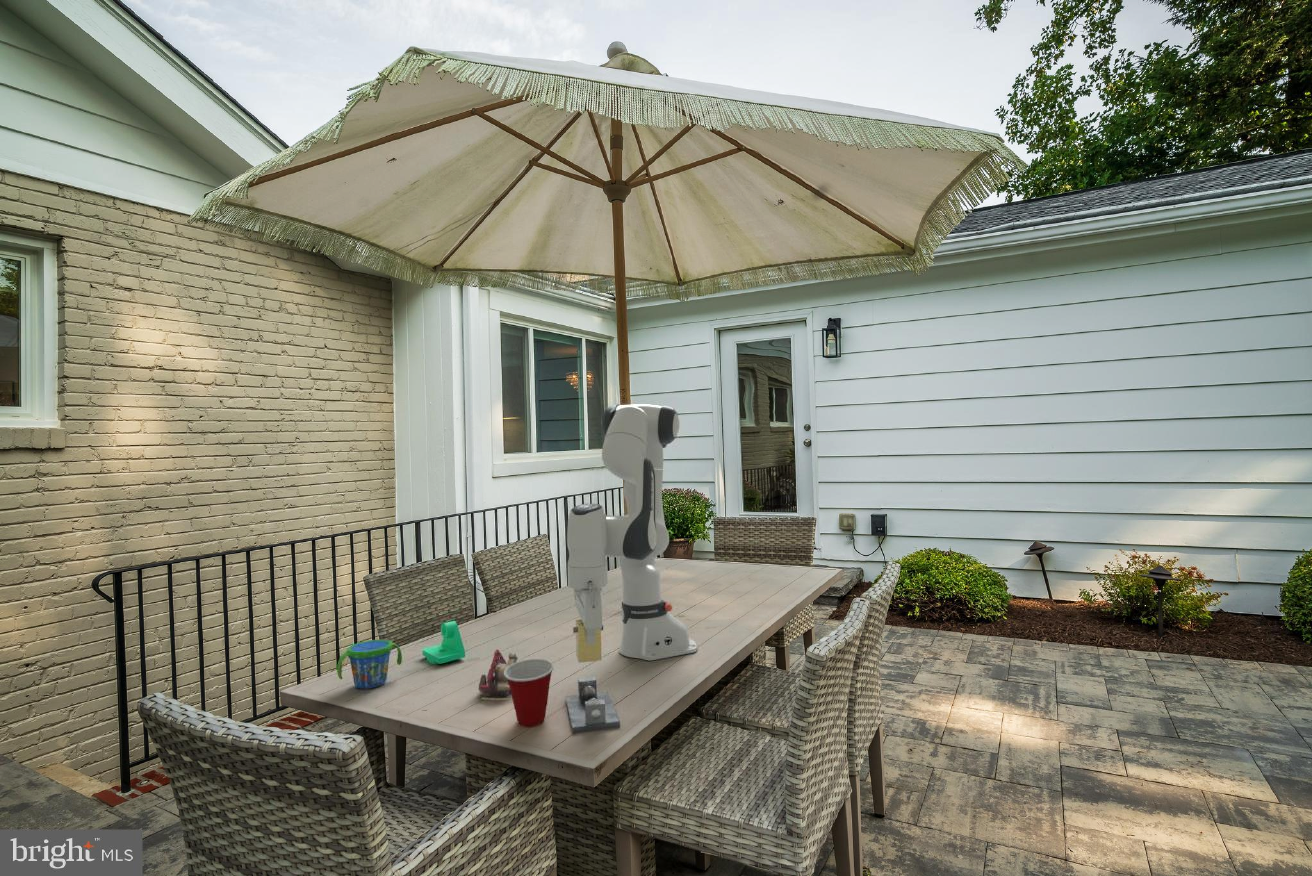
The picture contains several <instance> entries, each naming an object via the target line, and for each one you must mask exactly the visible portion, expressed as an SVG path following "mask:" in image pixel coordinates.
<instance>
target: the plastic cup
mask: <svg viewBox="0 0 1312 876" xmlns="http://www.w3.org/2000/svg"><path fill="white" fill-rule="evenodd" d="M553 670H554V663H553V662H552V661H550V660H549V659H545V658H529V659H522V660H518V661H516V663H514V664H512V665H510V666H508V667H507V668H506V669H505V670H504V676H505V677H506V678H507V681H508V683H509V687H510V694H511V700H512V704H513V708H514V710H515V716H516V720H517V723H518V725H519V726H521V727H524V728H531V727H536V726H539V725H542V724H543V723H544V721H545V718H546V712H547V706H548V700H549V699H548V698H549V690H550V683H551V676H552V673H553Z"/></svg>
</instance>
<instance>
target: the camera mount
mask: <svg viewBox="0 0 1312 876" xmlns="http://www.w3.org/2000/svg"><path fill="white" fill-rule="evenodd" d="M440 633H441V637H442V641H441V644H437V645H434V646H429V647H426V648H423V649H422V656H423V657H425V658H426V661H427V662H429V663H430V664H432V665H438V664H444V663H449V662H452V661H457V660H459V659H463V658H466V650H465V648H464V647H465V646H464V642H463V639H462V637H461V633H460V630H459V627H458V622H456V621H455V620H453V621H447V622H444V623H441V626H440Z"/></svg>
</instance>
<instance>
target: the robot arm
mask: <svg viewBox="0 0 1312 876" xmlns="http://www.w3.org/2000/svg"><path fill="white" fill-rule="evenodd" d="M600 423H601V432H602V434H603V436H604V437H605V438H604V441H603V445H602V448H601V449H602V451H601V459H602V462H603V465H604V466H605V468H606V469H607V470H608V471H609V472H610V473H611V474H613V475H614V476H616V477H617V478H618V479H621V480H624V481H623V482H624V484H623V496H624V499H625V503H626V510H627V514H626V515H607V514H605V511H604V507H603V505H601V504H598V503H584V504H578V505H575V506H574V507H572V508H571V509H570V511H569V514H568V521H567V531H566V533H567V536H566V540H567V541H566V542H567V543H566V544H567V549H568V560H567V586H568V587H569V588H571V589H573V594H574V603H575V607H576V610H577V612H578V615H579V618H580V620H582V622H583V624H584V627H585V629H586V642H587V644H588V645H592V644H595V634H596V630H599V629H601V628H602V625H603V608H602V607H603V605H602V595H601V594H602V593H603V587H606V586H607V585H608V582H609V581H608V560H607V558H618V563H619V566H620V572H621V583H622V584H621V585H622V601H621V609H620V610H621V621H622V632H621V641H620V644H619V645H620V646H619V648H618V649H619V650H618V652H619V654H621V655H622V656H624V657H627V658H628V657H629V658H635V659H641V660H645V661H655V660H661V659H666V658H671V657H676V656H681V655H687V654H692V653H696V652H697V650H698V645H697V643H696V641H695V640H694V639H692V638H690V637H689V633H688V629H687V627H686V625H685V624H684V622H682V621H681V620H679V619H678V618H676V617H675V616H674V615H672V614H671V613H669V612H671V611H672V610H673V605H672V604H671V603H670V602H668V601H665V600H664V599H662V595H661V594H662V591H661V589H662V588H661V573H660V570H659V568H658V565H657V561H656V558H655V557H656V556H660V555H661V554H663V553H664V552H665V551H666V550H667V548H668V546H669V544H670V534H669V530H668V529H667V527H666V522H665V515H664V514H665V513H664V508H663V498H662V497H663V496H662V495H663V494H662V493H663V476H664V449H666V448H667V445H669V444H671V443H673V442H674V441H675V440H676V438H677V436H678V433H679V430H680V419H679V414H678V412H677V410H676V409H675V408H673V407H671V406H668V405H661V406H660V405H657V404H649V403H647V404H646V403H639V404H619V403H617V404H612V405H609V406H608V407H606V409H604V411H603V413H602V416H601V422H600Z"/></svg>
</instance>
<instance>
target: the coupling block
mask: <svg viewBox="0 0 1312 876" xmlns="http://www.w3.org/2000/svg"><path fill="white" fill-rule="evenodd" d="M602 631H604V624H602V628H601V629H599V630H596V634H595V644H592V645H588V644H587V642H586V629H585V627H584V624H583V622H582V620H581V619H575V626H573V627H572V632H573V634H575V649H576V651H575V652H576V654H575V655H576V659H577V662H578V663H589V662H600V661H602Z"/></svg>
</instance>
